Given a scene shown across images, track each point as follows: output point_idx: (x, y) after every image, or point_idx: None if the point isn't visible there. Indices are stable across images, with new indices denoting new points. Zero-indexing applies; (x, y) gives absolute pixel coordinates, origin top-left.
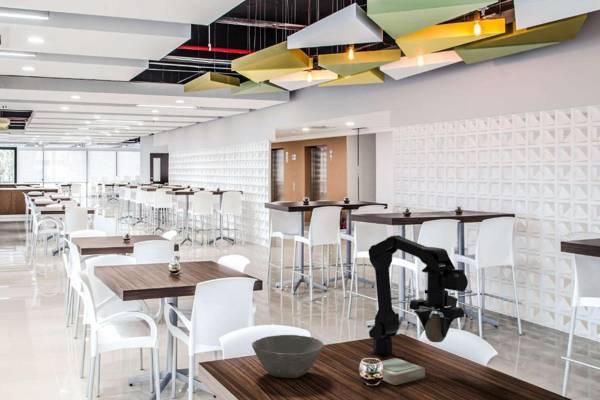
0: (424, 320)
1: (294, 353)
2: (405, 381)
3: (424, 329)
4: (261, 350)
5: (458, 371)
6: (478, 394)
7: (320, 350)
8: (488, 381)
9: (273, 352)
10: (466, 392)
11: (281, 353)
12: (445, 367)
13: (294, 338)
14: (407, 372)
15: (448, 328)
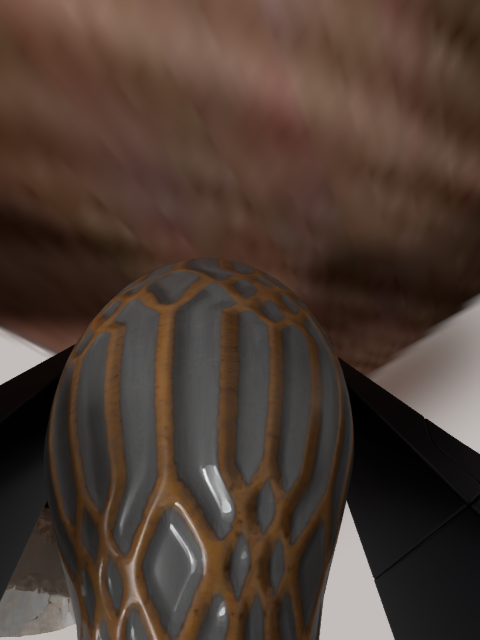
0: (13, 532)
1: None
2: None
3: None
4: (33, 633)
5: (291, 162)
6: (434, 331)
7: (66, 586)
8: (453, 186)
9: (60, 628)
10: (399, 343)
11: (73, 623)
12: (207, 155)
13: None
14: None
15: (405, 415)
